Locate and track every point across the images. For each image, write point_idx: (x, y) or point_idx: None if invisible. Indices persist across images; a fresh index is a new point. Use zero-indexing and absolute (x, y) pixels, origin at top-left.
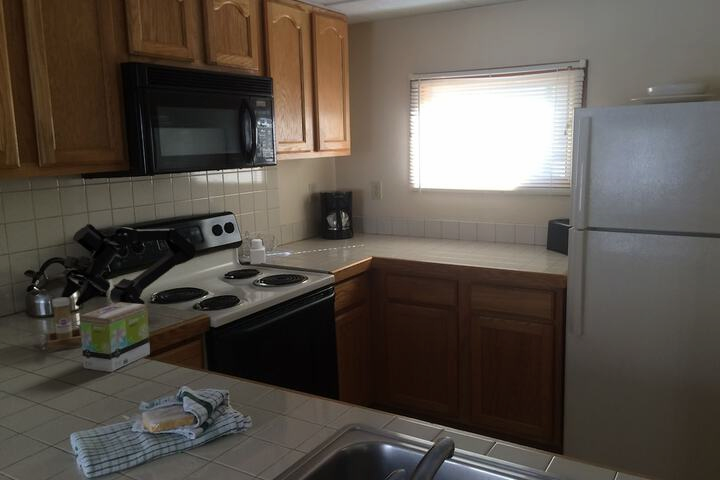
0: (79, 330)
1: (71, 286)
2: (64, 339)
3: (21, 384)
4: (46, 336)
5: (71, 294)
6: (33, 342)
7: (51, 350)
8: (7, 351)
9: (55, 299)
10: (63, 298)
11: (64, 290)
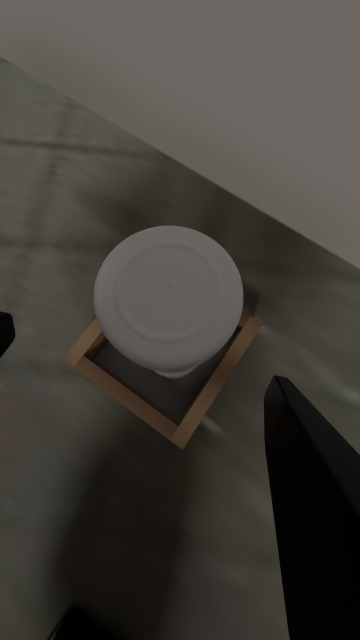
0: (155, 412)
1: (353, 634)
2: None
3: (11, 94)
4: None
5: (278, 522)
6: (300, 319)
7: None
8: (287, 228)
9: (193, 249)
10: (158, 312)
11: (327, 457)
